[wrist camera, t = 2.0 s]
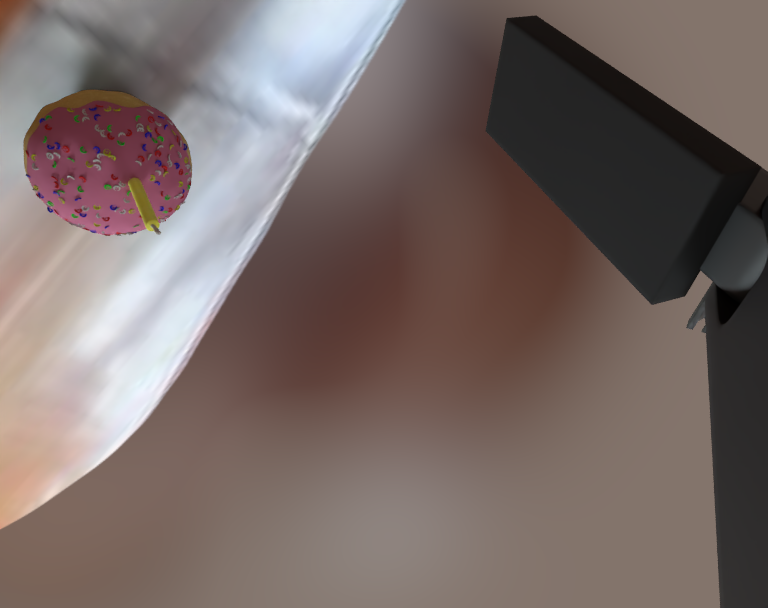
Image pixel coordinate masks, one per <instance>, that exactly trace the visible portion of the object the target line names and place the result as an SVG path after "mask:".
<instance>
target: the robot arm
mask: <svg viewBox="0 0 768 608" xmlns="http://www.w3.org/2000/svg"><path fill="white" fill-rule="evenodd" d="M486 132H487V133H488V134H489V135H490V136H491V137H492V138H493V139H494V140H495V141H496V142H497V143H498V144H499V145H500V147H501V148H503V150H504V151H505V152H506V153H507V154H508V155H509V156H510V157H511V158H512V159H513V160H514V161H515V162H516V163H517V164H518V165H519V166H520V167H521V169H522V170H523V171H524V172H525V173H526V174H527V175H528V176H529V177H530V178H531V179H532V180H533V181H534V182H535V183H536V184H537V185H538V186H539V187H540V188H541V189H542V190H543V192H545V194H546V195H547V196H548V197H549V198H550V199H551V200H552V201H553V202H554V203H555V204H556V205H557V206H558V207H559V208H560V209H561V210H562V211H563V212H564V214H565V215H566V216H567V217H568V218H569V219H570V220H571V221H572V222H573V223H574V224H575V225H576V226H577V227H578V228H579V229H580V230H581V231H582V232H583V233H584V234H585V235H586V237H587V238H588V239H589V240H590V241H591V242H592V243H593V244H594V245H595V246H596V247H597V248H598V249H599V250H600V251H601V252H602V253H603V254H604V255H605V256H606V257H607V258H608V260H610V261H611V263H612V264H613V265H614V266H615V267H616V268H617V269H618V270H619V271H620V272H621V273H622V274H623V275H624V276H625V277H626V278H627V279H628V280H629V282H630V283H631V284H632V285H633V286H634V287H635V288H636V289H637V290H638V291H639V292H640V293H641V294H642V295H643V296H644V297H645V298H646V299H647V300H648V301H649V302H650V303H651V304H652V305H654V304H657V303H661V302H665V301H669V300H672V299H676V298H680V297H684V296H685V295H686V294H687V292H688V290H689V289H690V287H691V285H692V284H693V282H694V280H695V279H696V277H697V275H698V274H699V272H700V270H701V271H702V272H703V273H704V274H705V275H707V277H708V278H710V279H711V280H712V281H713V283H712V284H711V286H710V287H709V289H708V291H707V292H706V294H705V295H704V297H703V298H702V300H701V302H700V303H699V305H698V306H697V308H696V310H695V311H694V313H693V314H692V316H691V318H690V319H689V321H688V324H687V328H689V329H693V328H694V326H695V325H696V323H697V322H698V321H699V320H701V319H703V318H705V322H706V325H705V326H704V328H703V329H702V332H704V333H706V342H707V361H708V380H709V400H710V418H711V438H712V455H713V456H712V457H713V476H714V494H715V513H716V534H717V553H718V571H719V590H720V608H768V172H767V171H766V170H764V169H763V168H762V167H761V166H759V165H758V164H756V163H755V162H753V161H752V160H750V159H749V158H747V157H746V156H744V155H743V154H741V153H740V152H738V151H737V150H736V149H734V148H733V147H731V146H730V145H728V144H727V143H725V142H723V141H722V140H721V139H719V138H718V137H716V136H715V135H713V134H711V133H710V132H709V131H707V130H706V129H704V128H703V127H701V126H700V125H698V124H697V123H695V122H694V121H692V120H691V119H689V118H688V117H686V116H685V115H683V114H682V113H680V112H679V111H677V110H676V109H675V108H673V107H672V106H670V105H668V104H667V103H666V102H664V101H663V100H661V99H659V98H658V97H657V96H655V95H654V94H652V93H651V92H649V91H648V90H646V89H645V88H643V87H642V86H640V85H639V84H637V83H636V82H634V81H633V80H631V79H630V78H628V77H627V76H625V75H624V74H622V73H621V72H619V71H618V70H616V69H615V68H614V67H612V66H611V65H609V64H607V63H606V62H604V61H603V60H601V59H600V58H599V57H597V56H595V55H594V54H593V53H591V52H590V51H588V50H586V49H585V48H584V47H582V46H581V45H579V44H578V43H576V42H575V41H573V40H572V39H570V38H569V37H567V36H566V35H564V34H563V33H561V32H560V31H558V30H557V29H555V28H554V27H552V26H551V25H549V24H548V23H546V22H545V21H544V20H542V19H541V18H539V17H538V16H527V17H515V18H507V20H506V25H505V30H504V36H503V41H502V46H501V52H500V57H499V63H498V68H497V73H496V79H495V84H494V89H493V94H492V100H491V105H490V110H489V116H488V121H487V126H486Z"/></svg>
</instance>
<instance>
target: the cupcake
mask: <svg viewBox="0 0 768 608" xmlns="http://www.w3.org/2000/svg"><path fill="white" fill-rule="evenodd" d="M24 165H25V170H26V176H27V177H28V179H29V181H30V183H31V185H32V187H33V190H34V191H35V192H36V195H37V196H38V197H39V198H40V199H41V200H42V201H43V202H44V203H45V204H46V205H47V206H48V207H47V209H48V211H49V212H54V213H56V214H57V215H58V216H59V217H61V218H62V219H64V220H65V221H67V222H69V223H70V224H71V225H75V226H77V227H80V228H83V229H86V230H89V231H91V232H93V233H98V234H102V235H107V236H110V235H113V234H115V235H118V236H121V235H119V234H129V235H130V234H133V233H137V231H141V230H144V229H147V230H149V231H155V233H156V234H158V235H160V234H161V232H160V231H159V230H158V228H159V223H161V222H164V221H166V219H167V218H169V217H170V216H171V215H172V214H173V213H174V212H175V211H176V210H178V209H179V208H180V205H181V204H183V203H185V202H184V200H185V199H186V197H187V195H188V192H189V189H190V186H191V178H192V163H191V156H190V151H189V147H188V144H187V142H186V140H185V138H184V137H183V135H182V134H181V133H180V132H179V130H178V129H177V128H176V126H175V125H174V123H173V122H172V121H171V120H170V119H169V118H168V116H167V115H165V114H164V113H162V112H161V111H159V110H157V109H155V108H153V107H151V106H150V105H148V104H147V103H145V102H143V101H141V100H139V99H137V98H135V97H133V96H131V95H129V94H127V93H124V92H117V91H104V90H83V91H79V92H77V93H74V94H71V95H69V96H66V97H64V98H62V99H61V100H59V101H57V102H54V103H51V104H48V105H46V106H45V107H43V108H42V109H41V110H40V112H39V113H38V115H37V117H36V118H35V120H34V122H33V123H32V125H31V127H30V128H29V130H28V131H27V133H26V135H25V138H24ZM49 208H50V209H49ZM50 210H52V211H50Z"/></svg>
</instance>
